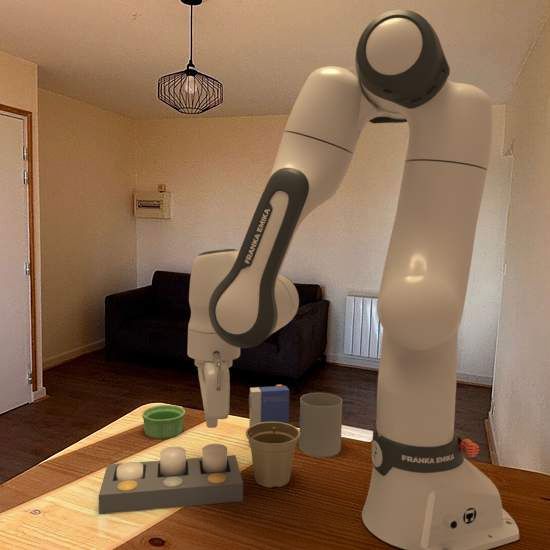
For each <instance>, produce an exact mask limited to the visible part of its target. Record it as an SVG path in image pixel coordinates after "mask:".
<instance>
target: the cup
mask: <svg viewBox="0 0 550 550" xmlns="http://www.w3.org/2000/svg"><path fill="white" fill-rule="evenodd" d="M299 398H300V402H299V403H300V404H299V405H300V406H299V431H300V437H299V439H298V443H299V446H298V447H299V450H300V451H301V452H302V453H304V454H305V455H308V456H310V457H317V458H328V457H333V456H336V455H338V454H339V453H340V452H341V451H342V427H343V426H342V425H343V424H342V423H343V417H342V416H343V399H342V398H341V397H340V396H338V395H335V394H332V393H327V392H326V393H325V392H310V393H305V394H303V395H302V396H301V397H299Z"/></svg>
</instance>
